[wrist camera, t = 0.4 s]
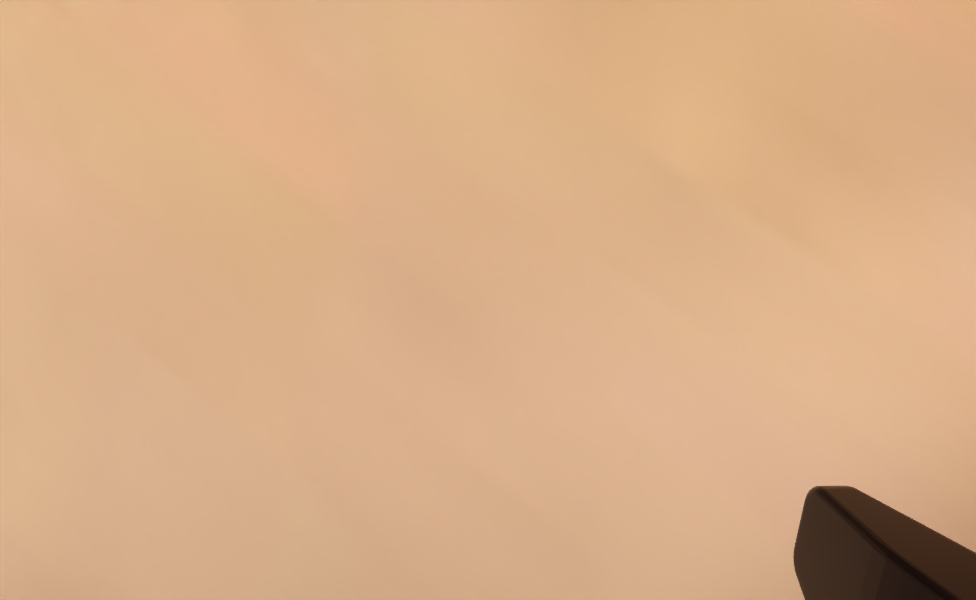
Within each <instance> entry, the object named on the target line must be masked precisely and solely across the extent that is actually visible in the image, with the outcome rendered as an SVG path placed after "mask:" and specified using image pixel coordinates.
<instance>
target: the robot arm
mask: <svg viewBox="0 0 976 600" xmlns="http://www.w3.org/2000/svg"><path fill="white" fill-rule="evenodd" d="M794 567H795V572H796V575H797V578H798V581H799V584H800V587H801V590H802V592H803V595H804V598H805V600H976V553H975V552H973V551H971V550H969V549H967V548H966V547H964V546H962V545H960V544H958V543H956V542H954V541H952V540H951V539H949V538H947V537H945V536H943V535H941V534H939V533H938V532H936V531H934V530H932V529H930V528H928V527H926V526H925V525H923V524H921V523H919V522H917V521H915V520H913V519H911V518H910V517H908V516H906V515H904V514H902V513H900V512H898V511H897V510H895V509H893V508H891V507H889V506H887V505H885V504H884V503H882V502H880V501H878V500H876V499H874V498H872V497H870V496H869V495H867V494H865V493H863V492H861V491H859V490H857V489H855V488H853V487H849V486H816V487H814V488H812V489H811V490H810V491H809V492H808V494H807V496H806V499H805V502H804V507H803V511H802V516H801V520H800V525H799V529H798V534H797V538H796V543H795V547H794Z"/></svg>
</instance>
